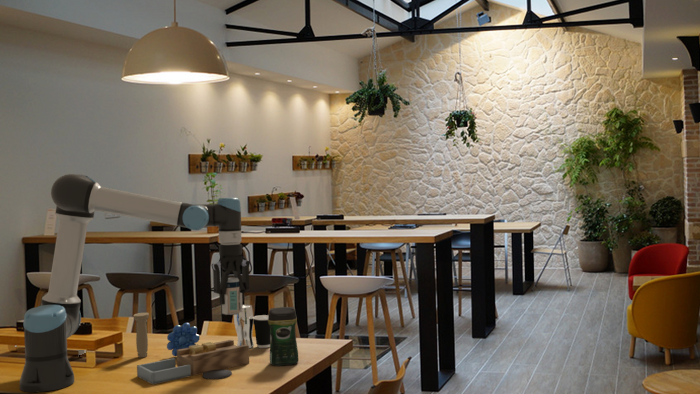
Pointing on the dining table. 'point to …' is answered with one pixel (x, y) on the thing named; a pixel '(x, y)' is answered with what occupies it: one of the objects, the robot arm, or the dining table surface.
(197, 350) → the chip
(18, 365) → the dining table surface
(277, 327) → the coffee jar
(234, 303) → the white labelled bottle
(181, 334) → the grapes
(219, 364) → the slot board
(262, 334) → the dixie cup
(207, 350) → the tan block
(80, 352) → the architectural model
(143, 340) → the handle
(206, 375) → the coaster
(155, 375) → the tray
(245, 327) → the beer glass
